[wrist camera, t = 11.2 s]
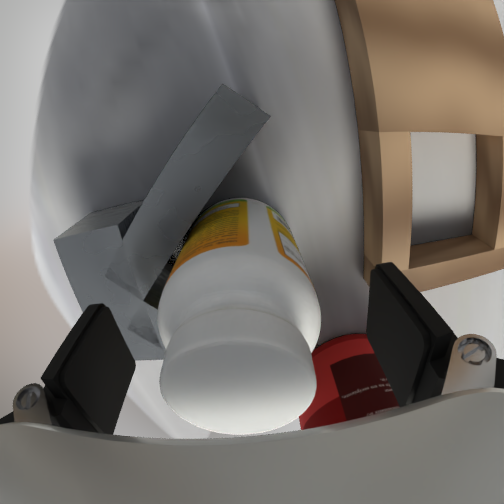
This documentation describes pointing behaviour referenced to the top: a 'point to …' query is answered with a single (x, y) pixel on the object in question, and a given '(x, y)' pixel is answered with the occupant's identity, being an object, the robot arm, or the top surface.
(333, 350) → the canned food
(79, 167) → the top surface
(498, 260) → the wooden board with cutout
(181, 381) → the supplement bottle
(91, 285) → the v block
